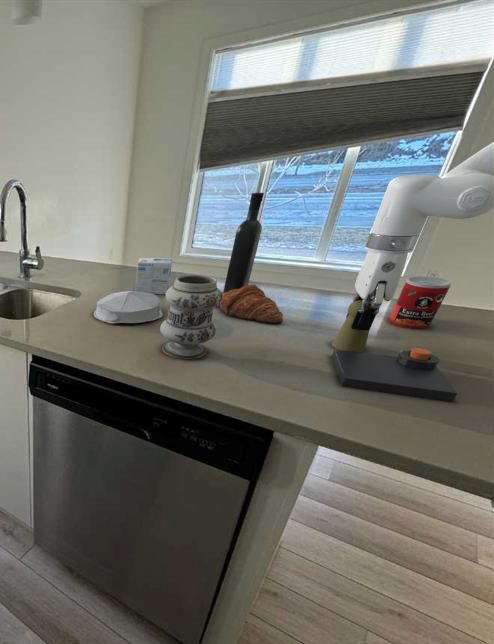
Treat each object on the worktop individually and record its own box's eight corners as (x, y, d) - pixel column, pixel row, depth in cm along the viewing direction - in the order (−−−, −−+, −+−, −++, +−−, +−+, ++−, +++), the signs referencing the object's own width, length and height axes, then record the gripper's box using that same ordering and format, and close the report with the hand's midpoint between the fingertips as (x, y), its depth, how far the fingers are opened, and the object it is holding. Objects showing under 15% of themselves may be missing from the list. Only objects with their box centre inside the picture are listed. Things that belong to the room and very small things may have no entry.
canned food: (390, 326, 102) (409, 283, 97) (386, 315, 108) (404, 275, 102) (432, 331, 98) (455, 287, 93) (426, 320, 104) (447, 277, 98)
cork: (329, 340, 99) (345, 296, 93) (360, 343, 96) (379, 298, 91) (334, 350, 94) (352, 305, 88) (368, 353, 92) (388, 307, 86)
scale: (426, 367, 85) (434, 352, 83) (452, 401, 74) (462, 385, 72) (330, 356, 92) (336, 342, 90) (341, 386, 81) (348, 370, 80)
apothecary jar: (190, 337, 106) (203, 269, 97) (221, 357, 96) (240, 282, 87) (148, 344, 105) (157, 275, 96) (174, 364, 94) (188, 289, 85)
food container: (155, 330, 112) (159, 306, 109) (85, 322, 121) (86, 300, 118) (167, 306, 127) (170, 285, 123) (103, 300, 136) (105, 280, 132)
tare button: (425, 355, 83) (429, 349, 82) (430, 361, 81) (433, 354, 80) (407, 354, 84) (410, 347, 83) (411, 359, 82) (414, 352, 81)
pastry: (276, 306, 119) (284, 280, 115) (282, 325, 108) (291, 296, 104) (212, 302, 127) (218, 276, 123) (211, 319, 115) (217, 292, 111)
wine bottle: (221, 295, 131) (243, 194, 116) (228, 290, 134) (250, 191, 119) (240, 298, 128) (265, 194, 113) (246, 293, 131) (272, 191, 116)
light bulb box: (168, 288, 141) (173, 257, 135) (167, 295, 135) (172, 262, 130) (136, 287, 145) (139, 257, 139) (133, 293, 140) (137, 262, 134)
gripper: (429, 252, 75) (388, 341, 84) (403, 234, 88) (370, 313, 97) (376, 251, 79) (342, 336, 88) (358, 234, 91) (330, 310, 100)
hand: (357, 323), depth 92 cm, fingers closed on cork, 5 cm apart
